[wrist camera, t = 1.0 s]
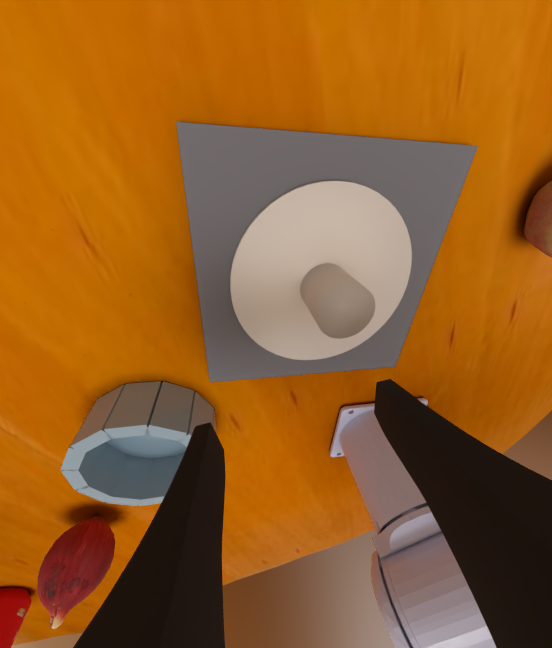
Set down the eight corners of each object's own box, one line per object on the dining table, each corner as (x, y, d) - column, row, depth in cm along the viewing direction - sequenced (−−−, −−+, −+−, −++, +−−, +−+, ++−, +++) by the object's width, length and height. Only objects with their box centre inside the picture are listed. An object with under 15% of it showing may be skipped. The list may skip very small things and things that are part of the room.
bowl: (210, 377, 20) (206, 418, 17) (219, 451, 25) (218, 494, 22) (71, 388, 18) (35, 436, 15) (111, 464, 23) (91, 513, 20)
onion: (54, 509, 26) (-9, 629, 19) (112, 497, 26) (72, 609, 19) (81, 532, 29) (35, 643, 22) (133, 521, 29) (104, 625, 22)
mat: (469, 146, 14) (477, 145, 14) (391, 362, 22) (395, 366, 22) (178, 123, 12) (176, 122, 11) (210, 377, 20) (209, 382, 19)
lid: (432, 185, 14) (498, 188, 11) (380, 350, 21) (412, 386, 17) (223, 175, 13) (222, 175, 9) (234, 360, 19) (236, 404, 15)
